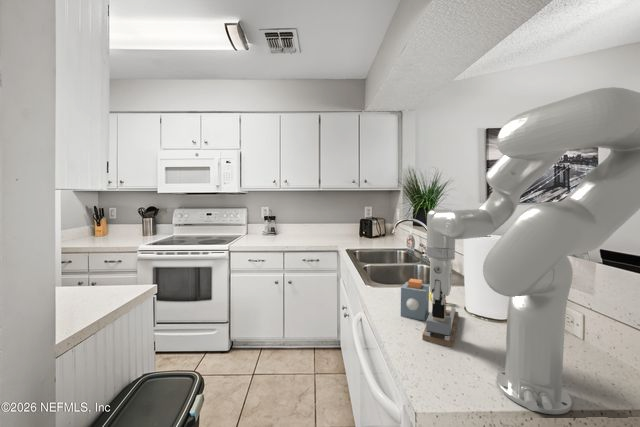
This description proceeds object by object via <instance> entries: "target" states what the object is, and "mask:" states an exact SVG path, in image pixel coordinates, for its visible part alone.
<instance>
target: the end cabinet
mask: <svg viewBox="0 0 640 427" xmlns="http://www.w3.org/2000/svg"><path fill="white" fill-rule="evenodd" d="M429 293H430V284H427V283H426V284H424V283H422V289H415V288H408V281H405V283H403V285H402V286H401V287H400V317H403V318H404V317H405V318H408V319H414V320H419V321H426V320H427V318H428V316H429V313H430V308H429V307H430V305H429V304H430V301H429V300H430V298H429Z"/></svg>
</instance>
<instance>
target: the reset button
mask: <svg viewBox="0 0 640 427" xmlns="http://www.w3.org/2000/svg"><path fill="white" fill-rule="evenodd" d="M407 282H408V288H415V289H422V284H423V279H416V278H409V280H408V281H407Z"/></svg>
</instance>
